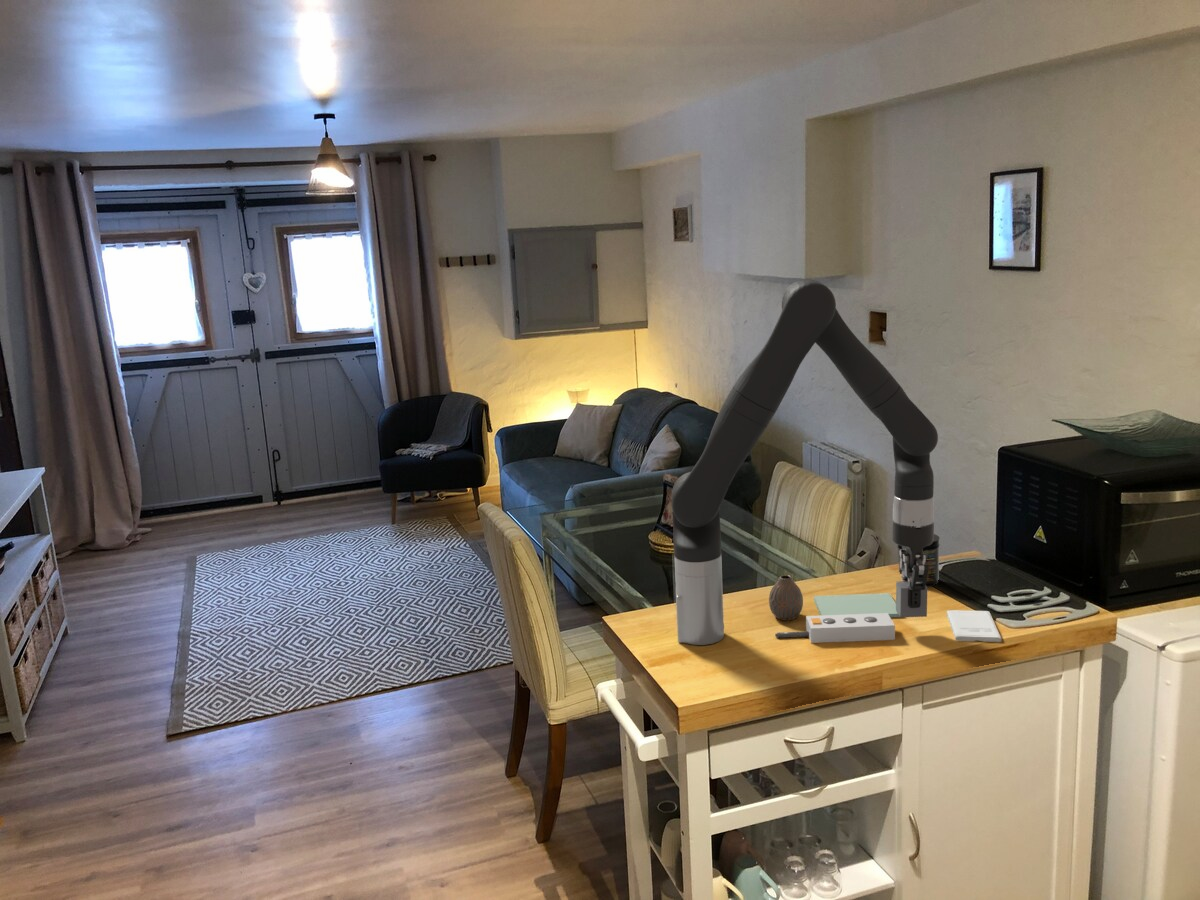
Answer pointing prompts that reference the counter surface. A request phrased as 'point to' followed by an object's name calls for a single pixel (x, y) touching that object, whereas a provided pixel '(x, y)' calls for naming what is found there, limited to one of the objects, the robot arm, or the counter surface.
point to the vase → (785, 599)
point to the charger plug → (902, 601)
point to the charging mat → (856, 604)
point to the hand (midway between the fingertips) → (911, 602)
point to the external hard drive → (973, 626)
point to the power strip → (846, 628)
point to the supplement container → (932, 561)
